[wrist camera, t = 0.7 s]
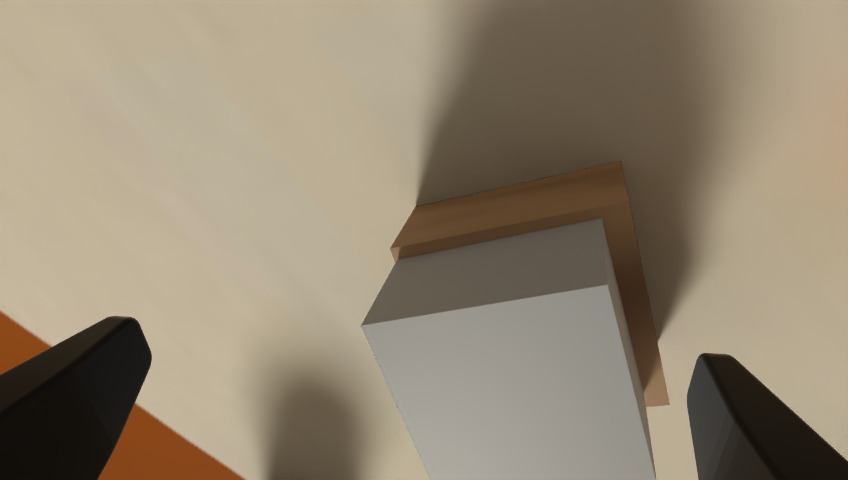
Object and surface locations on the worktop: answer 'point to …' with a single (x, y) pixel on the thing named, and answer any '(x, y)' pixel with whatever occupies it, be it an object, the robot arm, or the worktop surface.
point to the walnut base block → (545, 209)
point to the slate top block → (515, 360)
